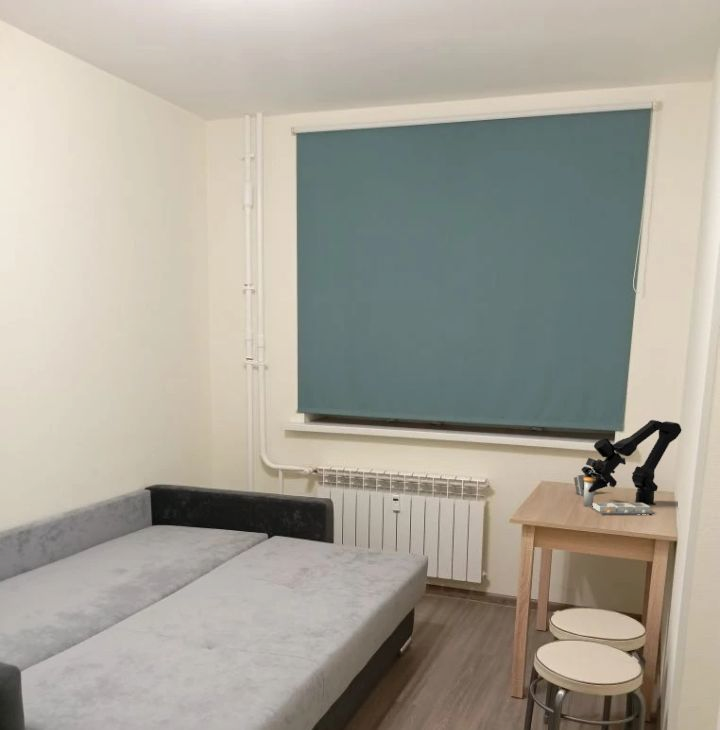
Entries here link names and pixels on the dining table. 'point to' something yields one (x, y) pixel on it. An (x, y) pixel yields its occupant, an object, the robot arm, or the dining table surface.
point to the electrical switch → (580, 484)
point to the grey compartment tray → (622, 508)
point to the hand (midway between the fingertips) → (585, 490)
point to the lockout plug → (588, 495)
